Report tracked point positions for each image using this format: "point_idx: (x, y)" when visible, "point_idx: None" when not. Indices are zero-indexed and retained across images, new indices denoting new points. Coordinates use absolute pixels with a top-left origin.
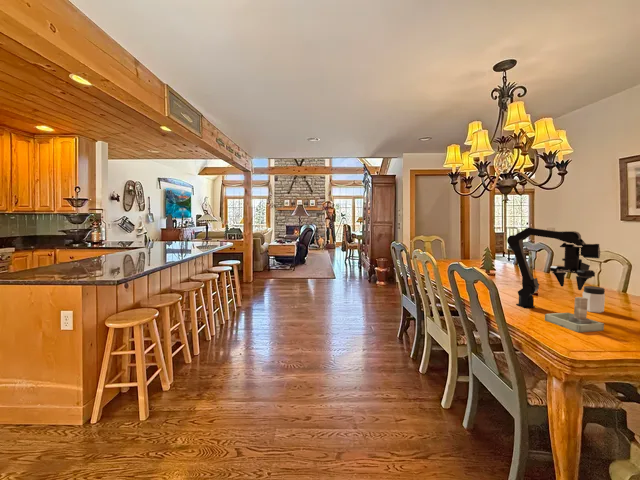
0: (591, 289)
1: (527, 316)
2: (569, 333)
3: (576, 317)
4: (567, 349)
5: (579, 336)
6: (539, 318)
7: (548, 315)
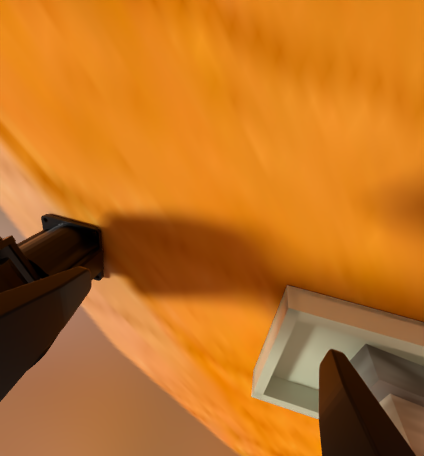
0: None
1: (196, 368)
2: None
3: None
4: None
5: None
6: (230, 362)
7: (268, 401)
